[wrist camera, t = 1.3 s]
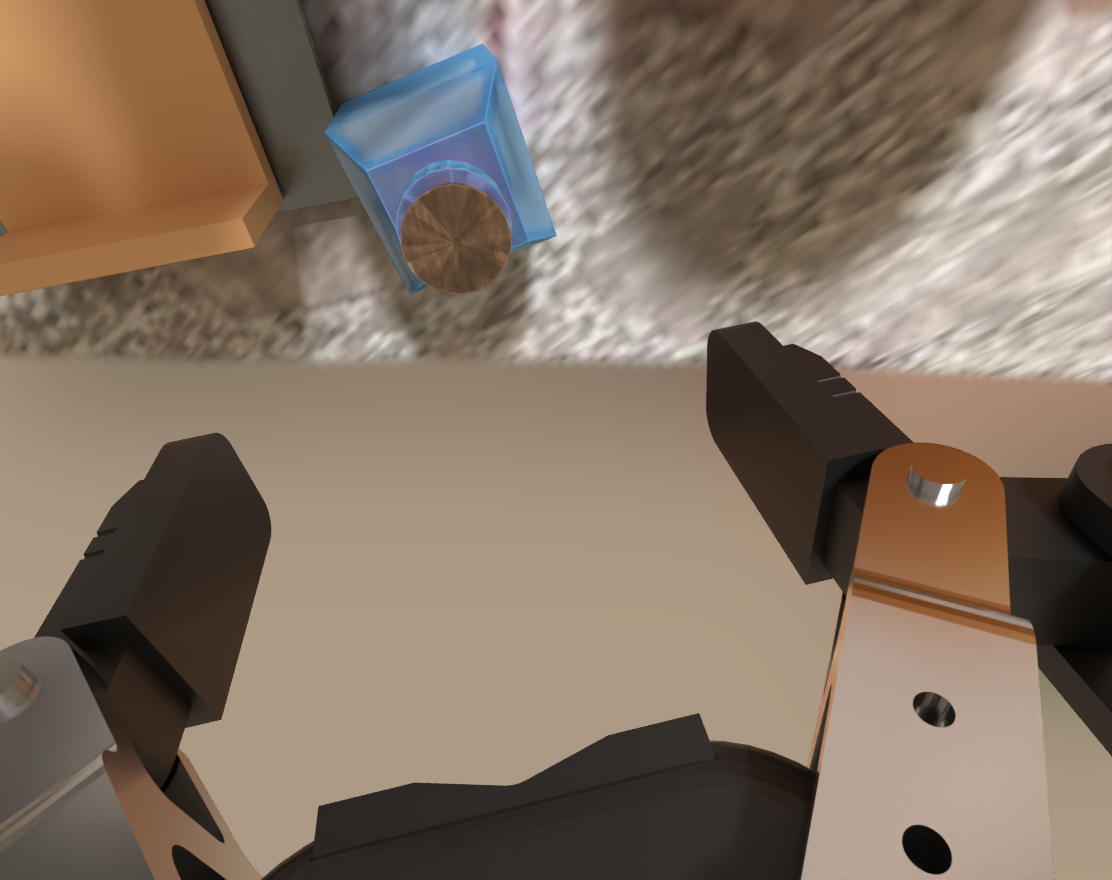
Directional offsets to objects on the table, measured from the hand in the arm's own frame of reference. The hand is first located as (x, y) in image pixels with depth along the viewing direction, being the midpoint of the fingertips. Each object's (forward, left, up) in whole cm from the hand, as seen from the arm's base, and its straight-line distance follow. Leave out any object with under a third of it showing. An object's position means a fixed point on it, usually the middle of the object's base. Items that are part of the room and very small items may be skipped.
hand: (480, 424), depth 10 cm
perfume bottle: (0, 0, -21) cm, 21 cm away
